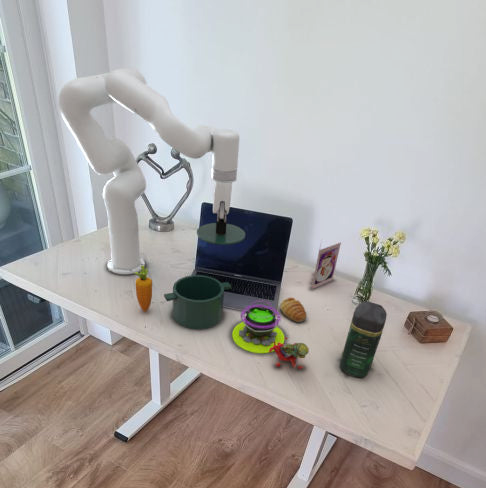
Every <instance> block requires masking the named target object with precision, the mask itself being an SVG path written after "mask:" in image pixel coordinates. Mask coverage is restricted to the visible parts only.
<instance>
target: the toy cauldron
mask: <svg viewBox="0 0 486 488" xmlns="http://www.w3.org/2000/svg"><path fill="white" fill-rule="evenodd" d="M260 302H261V303H266V304H261V303H260ZM257 303H258V304H257ZM259 303H260V304H259ZM240 311H241V312H240V319H241V322H240V323H237V324H236V325H235V326H234V328H233V330H232V333H231V336H232V340H233V342H234V343H235V344H236V345H237V346H238V347H239V348H241V349H243V350H244V351H247V352H249V353H253V354H268V353H274V352H275V351H274V350H272V351H271V352H269V349H270V348H271V347H273V346H274V342H275V345H277V344H278V343H279V342H280V343H281V344H285V338H284V337H285V334H284V332H283V330H282V329H281V328H280V327H279V323H280V322H282V317H281V316H282V314H281V313H280V312H279V311H278V310H277V309H276V307H274V308H273V307H271V303H270V302H268V300H265V299H262V300H254V301H253V302H252V304H248V305H247V306H246V307H244V308H242V310H240Z"/></svg>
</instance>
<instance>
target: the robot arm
mask: <svg viewBox="0 0 486 488" xmlns="http://www.w3.org/2000/svg"><path fill="white" fill-rule="evenodd" d="M113 104H119V105H121V107H123V108H125V109H126V110H128V111H130V112H131V113H133V114H134V115H136V116H137V117H139V118H140V119H141V120H143V121H144V122H145V123H147V124H148V125H150V127H151V128H152V130H153V131H154V132H155V133H156V135H158V137H159V138H160V139H161V140H162V141H163V142H165V144H167V145H168V146H169V147H171V148H172V149H174V150H175V151H177V152H179V153H180V154H181V155H183V156H185V157H187V158H189V159H193V160H197V159H201V158H203V157H204V156H205V155H207V154H208V153H211V154H212V156H211V175H210V176H211V177H210V178H211V180H212V181H214V182H213V183H214V185H213V201H212V214H217V215H216V221H215V223H216V233H217V234H226V224H228V223H227V221H228V218H227V215H229V214H230V213H229V212H230V206H231V200H232V191H233V183H235V182H236V181H237V178H238V177H237V176H238V166H239V165H238V164H239V163H238V162H239V149H240V134H239V133H238V131H235V130H233V129H227V128H225V129H224V128H221V129H219V128H216V127H214V126H213V127H212V126H209V125H205V124H199V125H196V126H195V127H193V128H191V127H190V126H189V125H187V124H186V123H184V122H183V121H181V120H180V119H179V118H178V117H177V116H176V115H175V114H174V113H173V111H172V110H171V108H170V105H169V102H168V100H167V97H165V96H164V95H163V94H161V93H159V92H158V91H156V90H155V89H153V88H152V87H150V86H149V85H147V81H146V78H145V76H144V75H143V74H142V73H141V72H140V71H139V70H138V69H137V68H133V67H122V68H116V69H114V70H112V71H110V72H105V73H100V74H94V75H89V76H88V75H87V76H82V77H77V78H73V79H71V80H69V81H67V82H66V83H65V84H64V85H63V86H62V88H61V89H60V92H59V95H58V108H59V109H58V110H59V113H60V115H61V117H62V120H63V121H64V123H65V124H66V126H67V127H68V129H69V130H70V132H71V134H72V135H73V137H74V139H75V141H76V142H77V145H78V146H79V148H80V150H81V151H82V153H83V155H84V157H85V159H86V160H87V162H88V164H89V166H90V167H91V169H92V170H93V171H94V173H96V174H97V175H99V176H109V175H111V174H113V177H112V178H110V179H109V180H108V181H107V182H106V184H105V185H104V187H103V190H102V198H103V202H104V205H105V210H106V213H107V214H106V216H107V223H108V224H107V225H108V235H109V245H110V246H109V247H110V255H111V256H110V259H109V260H108V262H107V265H106V266H107V269H108V270H109V271H110V272H111V273H113V274H117V275H134V274H135V272H138V273H140V271H142V269H141V266H142V265H143V266H144V267H145V266H146V262H145V260H144V259H143V258H142V257H141V252H140V250H141V249H140V230H139V215H138V211H137V209H136V204H135V203H136V201H137V200H138V199H139V198H140V197H141V196H142V195H143V194H144V193H145V192H146V189H147V180H146V178H145V175H144V173H143V171H142V169H141V167H140V166H139V163H138V162H137V160H136V157H135V156H134V154H133V152H132V150H131V149H130V146H128V144H127V143H126V142H124V141H123V140H122V139H120V138H118V137H108V136H107V135H106V133H105V131H104V128H103V127H102V125H101V123H100V121H98V119H97V118H96V117H95V116H93V115H92V113H91V111H92V110H95V109H97V108H100V107H101V108H102V107H105V106H109V105H113Z"/></svg>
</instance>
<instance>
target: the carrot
mask: <svg viewBox="0 0 486 488" xmlns="http://www.w3.org/2000/svg"><path fill="white" fill-rule="evenodd" d="M141 269H142V270H141V271H139V272H135V273H134V275H137V276H138V278H136V279H135V293H136V299H137V302H138V305H139V307H140V309H141V310H142V311H143V312H145V313H146V312H147V311H148V310H149V309H150V306H151V303H152V299H153V298H152V297H153V279H152V278H150V277H148V273H149V269H148V268H146V267H145V266H143V265H142V266H141Z"/></svg>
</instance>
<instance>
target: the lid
mask: <svg viewBox="0 0 486 488" xmlns="http://www.w3.org/2000/svg"><path fill="white" fill-rule="evenodd" d="M196 236H197V238H198V239H199V240H201V241H203V242H205V243H208V244H212V245H217V246H230V245H235V244H239V243H241V242H243V241H244V240H245V238H246V232H245V230H243V229H242V227H241V228H240V227H239V226H237V225H235V224H230V223H227V224H226V234H217V233H216V222H212V223H205V224H203V225H201V226H199V227H198V228H197V229H196Z"/></svg>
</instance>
